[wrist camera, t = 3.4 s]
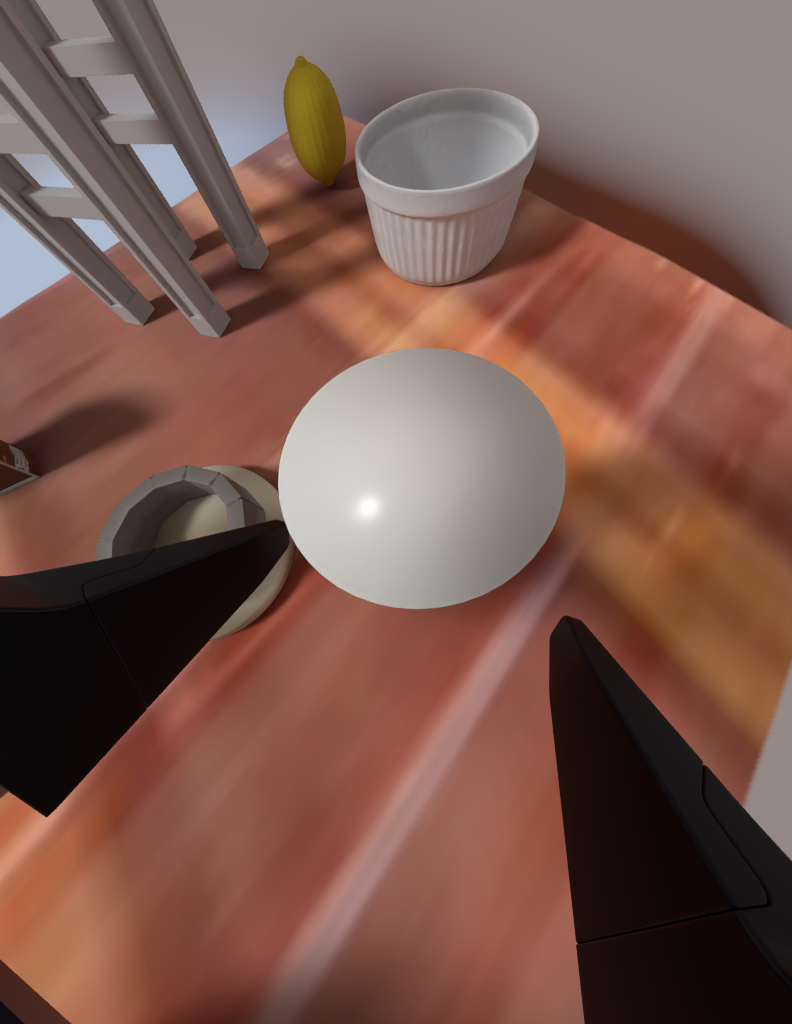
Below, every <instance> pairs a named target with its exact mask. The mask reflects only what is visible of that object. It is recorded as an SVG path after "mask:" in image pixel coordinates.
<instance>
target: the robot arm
mask: <svg viewBox="0 0 792 1024" xmlns="http://www.w3.org/2000/svg"><path fill="white" fill-rule="evenodd" d="M289 543H290V538H289V531H288V528H287V526H286V523H285V522H284V521H281V520H278V519H276V520H271V521H267V522H263V523H258V524H254V525H250V526H246V527H241V528H237V529H233V530H229V531H225V532H220V533H216V534H212V535H208V536H203V537H199V538H195V539H191V540H186V541H182V542H178V543H174V544H170V545H165V546H161V547H158V548H152V549H148V550H144V551H140V552H135V553H131V554H126V555H122V556H117V557H112V558H107V559H102V560H97V561H92V562H87V563H82V564H76V565H71V566H66V567H60V568H55V569H50V570H44V571H39V572H34V573H28V574H22V575H14V576H0V798H2V797H3V796H4V795H5V794H6V793H7V792H10V793H12V794H13V795H15V796H16V797H18V798H19V799H20V800H22V801H23V802H25V803H26V804H28V805H29V806H31V807H32V808H33V809H35V810H36V811H38V812H39V813H41V814H42V815H44V816H45V817H48V816H49V815H50V814H51V813H52V812H53V811H54V810H55V809H56V808H57V807H58V806H59V805H60V804H61V803H62V802H63V801H64V800H65V799H66V798H67V796H68V795H69V794H70V793H71V792H72V791H73V790H74V789H75V788H76V787H77V785H78V784H79V783H80V782H81V781H82V780H83V779H84V778H85V777H86V776H87V774H88V773H89V772H90V771H91V770H92V769H93V768H94V767H95V766H96V765H97V763H98V762H99V761H100V760H101V759H102V758H103V757H104V756H105V755H106V754H107V752H108V751H109V750H110V749H111V748H112V747H113V746H114V745H115V744H116V743H117V742H118V740H119V739H120V738H121V737H122V736H123V735H124V734H125V733H126V732H127V731H128V729H129V728H130V727H131V726H132V725H133V724H134V723H135V722H136V721H137V720H138V719H139V717H140V716H141V715H142V714H143V713H144V712H145V711H146V710H147V708H148V707H149V706H150V705H151V704H152V703H153V702H154V701H155V700H156V698H157V697H158V696H159V695H160V694H161V693H162V692H163V691H164V690H165V689H166V688H167V686H168V685H169V684H170V683H171V682H172V681H173V680H174V679H175V678H176V677H177V675H178V674H179V673H180V672H181V671H182V670H183V669H184V668H185V667H186V666H187V664H188V663H189V662H190V661H191V660H192V659H193V658H194V657H195V656H196V655H197V654H198V652H199V651H200V650H201V649H202V648H203V647H204V646H205V645H206V644H207V643H208V641H209V640H210V639H211V638H212V637H213V636H214V635H215V634H216V633H217V632H218V630H219V629H220V628H221V627H222V626H223V625H224V624H225V623H226V622H227V621H228V619H229V618H230V617H231V616H232V615H233V614H234V613H235V612H236V611H237V610H238V609H239V607H240V606H241V605H242V604H243V603H244V602H245V601H246V600H247V599H248V598H249V596H250V595H251V594H252V593H253V592H254V591H255V590H256V589H257V588H258V587H259V585H260V584H261V583H262V582H263V581H264V579H265V578H266V577H267V575H268V574H269V573H270V571H271V570H272V569H273V567H274V566H275V565H276V563H277V562H278V561H279V559H280V558H281V557H282V555H283V554H284V552H285V551H286V550H287V548H288V546H289ZM549 695H550V706H551V715H552V725H553V734H554V743H555V752H556V761H557V771H558V780H559V789H560V798H561V807H562V817H563V826H564V835H565V844H566V853H567V863H568V872H569V881H570V890H571V899H572V909H573V918H574V927H575V936H576V941H577V943H578V944H577V945H576V948H577V957H578V966H579V976H580V985H581V994H582V1003H583V1012H584V1022H585V1024H792V861H791V860H790V859H789V858H788V857H787V855H786V854H785V853H784V852H783V851H782V850H781V849H780V848H779V847H778V846H777V845H776V844H775V842H774V841H773V840H772V839H771V838H770V837H769V836H768V835H767V834H766V833H765V831H764V830H763V829H762V828H761V827H760V826H759V825H758V824H757V823H756V822H755V821H754V819H753V818H752V817H751V816H750V815H749V814H748V813H747V811H746V810H745V809H744V808H743V807H742V806H741V805H740V803H739V802H738V801H737V800H736V799H735V798H734V797H733V796H732V794H731V793H730V792H729V791H728V790H727V789H726V788H725V786H724V785H723V784H722V783H721V782H720V781H719V779H718V778H717V777H716V776H715V775H714V774H713V773H712V771H711V770H710V769H709V768H708V767H707V766H705V765H703V761H702V760H701V759H700V758H699V756H698V755H697V754H696V753H695V752H694V751H693V749H692V748H691V747H690V746H689V745H688V744H687V743H686V741H685V740H684V739H683V738H682V737H681V736H680V734H679V733H678V732H677V731H676V730H675V729H674V727H673V726H672V725H671V724H670V723H669V722H668V720H667V719H666V718H665V717H664V716H663V715H662V714H661V712H660V711H659V710H658V709H657V708H656V707H655V705H654V704H653V703H652V702H651V701H650V700H649V698H648V697H647V696H646V695H645V694H644V693H643V692H642V690H641V689H640V688H639V687H638V686H637V685H636V683H635V682H634V681H633V680H632V679H631V678H630V676H629V675H628V674H627V673H626V672H625V671H624V669H623V668H622V667H621V666H620V665H619V664H618V663H617V661H616V660H615V659H614V658H613V657H612V656H611V654H610V653H609V652H608V651H607V650H606V649H605V647H604V646H603V645H602V644H601V643H600V642H599V640H598V639H597V638H596V637H595V636H594V635H593V634H592V632H591V631H590V630H589V629H588V628H587V627H586V625H585V624H584V623H583V622H582V621H581V620H579V619H576V618H573V617H570V616H567V615H566V616H563V617H562V618H561V619H560V621H559V623H558V624H557V626H556V627H555V629H554V630H553V632H552V634H551V636H550V653H549ZM0 1024H71V1023H70V1022H69V1021H68V1020H66V1019H65V1018H64V1017H63V1016H62V1015H61V1014H60V1013H59V1012H58V1011H57V1010H55V1009H54V1008H53V1007H52V1006H51V1005H50V1004H49V1003H48V1002H47V1001H45V1000H44V999H43V998H42V997H41V996H40V995H39V994H38V993H37V992H35V991H34V990H33V989H32V988H31V987H30V986H29V985H28V984H27V983H26V982H24V981H23V980H22V979H21V978H20V977H19V976H18V975H17V974H16V973H14V972H13V971H12V970H11V969H10V968H9V967H8V966H7V965H6V964H4V963H3V962H2V961H1V960H0Z"/></svg>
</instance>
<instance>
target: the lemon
mask: <svg viewBox="0 0 792 1024" xmlns="http://www.w3.org/2000/svg"><path fill="white" fill-rule="evenodd" d="M284 110H285V117H286V123H287V127H288V132H289V136H290V140H291V143H292V146H293V149H294V151H295V154H296V156H297V158H298V160H299V162H300V163H301V165H302V166H303V168H304V169H305V170H306V172H307V173H308V174H309V175H310V176H311V177H313V178H314V179H316V180H319V181H323V182H324V183H325V184H326V185H327V186H332V185H333V182H334V179H335V177H336V176H337V175H338V174H339V173H340V171H341V169H342V167H343V164H344V161H345V156H346V134H345V126H344V120H343V115H342V112H341V108H340V104H339V101H338V98H337V96H336V93H335V90H334V88H333V86H332V84H331V82H330V81H329V79H328V77H327V76H326V75H325V73H324V72H323V71H322V70H321V69H320V68H318V67H317V66H316V65H314V64H312V63H310V62H307V61H306V60H305V58H304V57H303V56H299V57H297V58H296V60H295V66H294V67H293V68H292V70H291V71H290V73H289V75H288V77H287V81H286V84H285V89H284Z"/></svg>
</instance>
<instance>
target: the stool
mask: <svg viewBox="0 0 792 1024" xmlns="http://www.w3.org/2000/svg"><path fill="white" fill-rule="evenodd" d="M92 1H93V3H94V5H95V6H96V8H97V10H98V12H99V14H100V15H101V17H102V19H103V20H104V22H105V24H106V26H107V28H108V30H109V31H110V33H111V36H100V37H89V38H79V39H67V40H61V39H60V37H59V36H58V34H57V33H56V31H55V30H54V28H53V27H52V25H51V24H50V22H49V21H48V19H47V17H46V16H45V15H44V13H43V11H42V10H41V9H40V7H39V5H38V4H37V2H36V1H35V0H0V100H1V102H2V103H3V104H4V105H5V106H6V107H7V109H8V110H9V111H10V112H11V113H12V114H0V207H2V208H3V209H4V210H5V211H6V212H7V213H8V214H9V215H10V216H11V217H12V218H13V219H15V220H16V221H17V222H18V223H19V224H20V225H21V226H22V227H23V228H24V229H25V230H26V231H28V232H29V233H30V234H31V235H32V236H33V237H34V238H35V239H36V240H37V241H38V242H40V243H41V244H42V245H43V246H44V247H45V248H46V249H47V250H48V251H49V252H50V253H51V254H52V255H54V256H55V257H56V258H57V259H58V260H59V261H60V262H61V263H62V264H63V265H64V266H66V267H67V268H68V269H69V270H70V271H71V272H72V273H73V274H74V275H75V276H76V277H77V278H79V279H80V280H81V281H82V282H83V283H84V284H85V285H86V286H87V287H88V288H89V289H90V290H92V291H93V292H94V293H95V294H96V295H97V296H98V297H99V298H100V299H101V300H102V301H103V302H105V303H106V304H107V305H108V306H109V307H110V308H111V309H112V310H113V311H114V312H115V313H117V314H118V315H119V316H120V317H121V318H122V319H123V320H124V321H125V322H126V323H131V324H137V325H144V324H145V322H146V321H147V320H148V318H149V317H150V315H151V314H152V312H153V311H154V309H155V308H154V307H153V306H152V304H151V303H150V302H149V301H148V300H147V299H146V298H145V297H144V296H143V295H142V294H141V293H140V292H139V291H138V289H137V288H136V287H135V286H134V285H133V284H132V283H131V282H130V281H129V280H128V279H127V278H126V277H125V276H124V274H123V273H122V272H121V271H120V270H119V269H118V268H117V267H116V266H115V265H114V264H113V263H112V262H111V261H110V259H109V258H108V257H107V256H106V255H105V254H104V253H103V252H102V251H101V250H100V249H99V248H98V247H97V246H96V245H95V243H94V242H93V241H92V240H91V239H90V238H89V237H88V236H87V235H86V234H85V233H84V232H83V231H82V230H81V228H80V227H79V226H78V225H77V224H76V223H75V222H74V221H73V220H72V219H71V218H79V219H93V220H103V221H104V222H105V223H106V224H107V226H108V227H109V228H110V229H111V230H112V231H113V233H114V234H115V235H116V236H117V237H118V238H119V239H120V241H121V242H122V243H123V244H124V245H125V247H126V248H127V249H128V250H129V251H130V252H131V254H132V255H133V256H134V257H135V258H136V259H137V261H138V262H139V263H140V264H141V265H142V266H143V268H144V269H145V270H146V271H147V272H148V273H149V275H150V276H151V277H152V278H153V279H154V280H155V282H156V283H157V284H158V285H159V286H160V287H161V289H162V290H163V291H164V292H165V293H166V294H167V296H168V297H169V298H170V299H171V300H172V302H173V303H174V304H175V305H176V306H177V307H178V309H179V310H180V311H181V312H182V313H183V314H184V316H185V317H186V318H187V319H188V320H189V321H190V323H191V324H192V325H193V326H194V327H195V328H196V330H197V331H198V332H199V333H200V334H201V335H206V336H212V337H218V338H220V337H221V335H222V334H223V332H224V330H225V329H226V327H227V325H228V323H229V322H230V320H231V319H230V317H229V316H228V314H227V313H226V312H225V310H224V309H223V307H222V306H221V304H220V303H219V302H218V300H217V299H216V297H215V296H214V295H213V293H212V292H211V290H210V289H209V287H208V286H207V285H206V283H205V282H204V280H203V279H202V277H201V276H200V275H199V273H198V272H197V270H196V269H195V267H194V266H193V265H192V263H191V262H190V260H189V259H190V257H191V256H192V254H193V253H194V251H195V250H196V249H197V246H196V245H195V243H194V242H193V240H192V239H191V237H190V236H189V234H188V233H187V231H186V230H185V228H184V226H183V225H182V223H181V222H180V220H179V219H178V217H177V216H176V214H175V213H174V211H173V210H172V208H171V207H170V205H169V204H168V202H167V201H166V199H165V197H164V196H163V194H162V193H161V191H160V190H159V188H158V187H157V185H156V184H155V182H154V181H153V179H152V178H151V176H150V175H149V173H148V172H147V170H146V169H145V167H144V165H143V164H142V163H141V161H140V159H139V158H138V156H137V155H136V153H135V152H134V150H133V149H132V147H131V146H130V144H173V145H174V147H175V149H176V151H177V153H178V154H179V156H180V158H181V160H182V162H183V163H184V165H185V167H186V169H187V170H188V172H189V174H190V176H191V178H192V179H193V181H194V183H195V185H196V186H197V188H198V190H199V192H200V194H201V195H202V197H203V199H204V201H205V203H206V204H207V206H208V208H209V210H210V211H211V213H212V215H213V217H214V219H215V220H216V222H217V224H218V226H219V227H220V229H221V231H222V233H223V235H224V236H225V238H226V240H227V242H228V244H229V245H230V247H231V249H232V251H233V252H234V254H235V256H236V258H237V260H238V261H239V263H240V265H241V267H242V268H250V269H259V270H260V269H261V267H262V266H263V264H264V262H265V261H266V259H267V257H268V256H269V252H268V249H267V247H266V245H265V243H264V241H263V239H262V236H261V234H260V232H259V230H258V228H257V226H256V223H255V221H254V219H253V217H252V215H251V213H250V210H249V208H248V206H247V204H246V202H245V199H244V197H243V195H242V193H241V191H240V189H239V186H238V184H237V182H236V180H235V178H234V176H233V173H232V171H231V169H230V167H229V165H228V163H227V160H226V158H225V156H224V154H223V152H222V150H221V147H220V145H219V143H218V141H217V139H216V137H215V134H214V132H213V130H212V128H211V126H210V123H209V121H208V119H207V117H206V115H205V113H204V111H203V108H202V106H201V104H200V102H199V99H198V97H197V95H196V93H195V91H194V89H193V86H192V84H191V82H190V80H189V78H188V76H187V74H186V71H185V69H184V67H183V65H182V63H181V60H180V58H179V56H178V54H177V52H176V50H175V47H174V45H173V43H172V41H171V39H170V37H169V34H168V32H167V30H166V28H165V26H164V23H163V21H162V19H161V17H160V15H159V13H158V10H157V8H156V6H155V4H154V2H153V0H92ZM124 74H134V76H135V78H136V79H137V81H138V83H139V85H140V87H141V88H142V90H143V92H144V93H145V96H146V97H147V99H148V101H149V103H150V104H151V106H152V108H153V110H154V112H155V113H136V114H109V112H108V111H107V109H106V107H105V106H104V104H103V103H102V101H101V100H100V98H99V97H98V96H97V94H96V93H95V91H94V89H93V88H92V86H91V85H90V83H89V82H88V80H87V79H86V77H88V76H105V75H124ZM11 154H47V155H48V156H49V158H50V159H51V160H52V161H53V162H54V163H55V165H56V166H57V167H58V168H59V169H60V171H61V172H62V173H63V174H64V175H65V176H66V178H67V179H68V180H69V181H70V182H71V183H72V185H73V186H74V187H75V188H63V187H62V188H61V187H42V186H40V185H39V184H38V182H37V181H36V180H35V179H34V178H33V177H32V176H31V175H30V174H29V173H28V172H27V171H26V170H25V169H24V167H23V166H22V165H21V164H20V163H19V162H18V161H17V160H16V159H15V158H14V157H13V156H12V155H11Z"/></svg>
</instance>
